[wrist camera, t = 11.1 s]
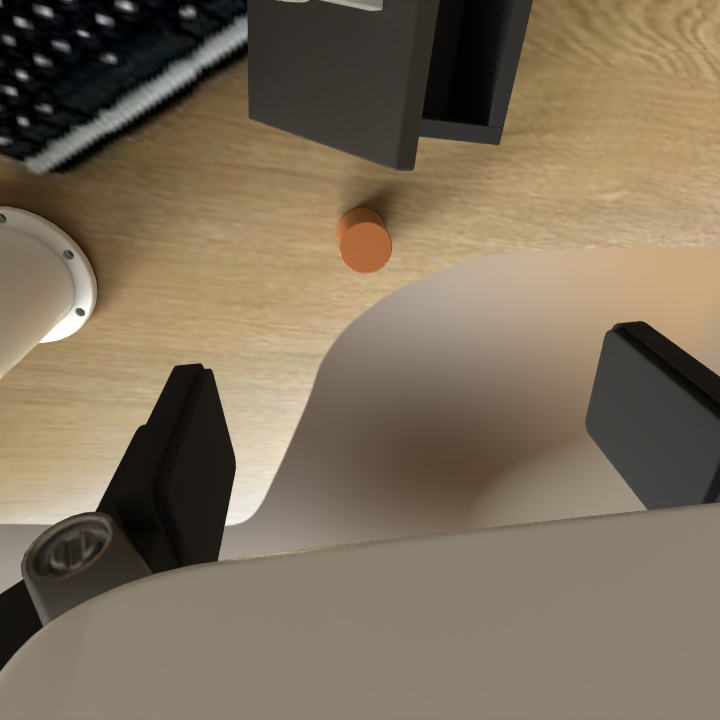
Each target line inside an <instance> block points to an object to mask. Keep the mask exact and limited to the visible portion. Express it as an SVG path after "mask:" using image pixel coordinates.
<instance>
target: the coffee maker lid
mask: <svg viewBox="0 0 720 720" xmlns="http://www.w3.org/2000/svg"><path fill="white" fill-rule="evenodd" d="M439 1H440V0H247V9H248V97H249V119H252V120H254V121H257V122H260V123H263V124H266V125H269V126H271V127H274V128H277V129H280V130H283V131H286V132H288V133H291V134H294V135H297V136H300V137H303V138H305V139H308V140H311V141H314V142H317V143H320V144H322V145H325V146H328V147H331V148H334V149H337V150H339V151H342V152H345V153H348V154H351V155H354V156H356V157H359V158H362V159H365V160H368V161H371V162H373V163H376V164H379V165H382V166H385V167H388V168H390V169H393V170H400V171H412V170H413V169H414V165H415V158H416V152H417V145H418V139H419V132H420V125H421V119H422V112H423V106H424V99H425V93H426V86H427V79H428V73H429V66H430V60H431V53H432V47H433V40H434V33H435V27H436V20H437V14H438V7H439Z"/></svg>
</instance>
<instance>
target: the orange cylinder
mask: <svg viewBox="0 0 720 720" xmlns="http://www.w3.org/2000/svg"><path fill="white" fill-rule="evenodd" d="M337 237H338V243H339V250H340V255H341V258H342V260H343V262H344V263H345V264H346V265H347V266H348V267H349V268H350V269H352V270H353V271H356V272H359V273H371V272H374V271H377V270H379V269H380V268H382V267H383V266H384V265H385V264H386V263H387V261H388V260H389V258H390V255H391V251H392V242H391V238H390V236H389V234H388V232H387V230H386V228H385V225H384V223H383V221H382V219H381V218H380V216H379V215H378V214H377V213H375V212H374V211H372V210H370V209H367V208H356V209H353V210H350V211H349V212H347V213H346V214H345V215H344V216H343V217H342V218H341V220H340V222H339V224H338V228H337Z"/></svg>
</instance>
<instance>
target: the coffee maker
mask: <svg viewBox="0 0 720 720" xmlns="http://www.w3.org/2000/svg"><path fill="white" fill-rule="evenodd" d="M532 2H533V0H440V1H439V7H438V14H437V20H436V27H435V33H434V40H433V47H432V53H431V60H430V66H429V73H428V79H427V86H426V93H425V99H424V106H423V112H422V119H421V125H420V132H419V137H427V138H436V139H446V140H455V141H464V142H473V143H482V144H491V145H499V144H500V140H501V136H502V131H503V127H504V122H505V118H506V114H507V110H508V105H509V101H510V97H511V92H512V88H513V84H514V79H515V75H516V71H517V66H518V62H519V58H520V53H521V49H522V45H523V40H524V36H525V32H526V27H527V23H528V19H529V14H530V10H531V6H532Z"/></svg>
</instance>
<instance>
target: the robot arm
mask: <svg viewBox="0 0 720 720" xmlns="http://www.w3.org/2000/svg"><path fill="white" fill-rule="evenodd" d="M4 216H5V217H6V218H5V217H4ZM70 251H71V252H72V253H73V254H72V253H71V252H70ZM96 300H97V282H96V278H95V275H94V272H93V269H92V267H91V265H90V263H89V261H88V259H87V257H86V255H85V254H84V253H83V251H82V250H81V248H80V247H79V246H78V244H77V243H76V242H75V241H74V240H73V239H72V238H71V237H70V236H69V235H68V234H67V233H65V232H64V231H63V230H61V229H60V228H59V227H57V226H56V225H55V224H53V223H52V222H50V221H48V220H46V219H44V218H42V217H41V216H39V215H36V214H33V213H31V212H28V211H26V210H22V209H18V208H13V207H8V206H0V379H1V378H2V377H3V376H4V375H5V374H6V373H7V372H8V371H9V370H11V369H12V368H13V367H14V366H15V365H16V364H17V363H18V362H19V361H20V360H21V359H22V358H23V357H24V356H25V355H26V354H27V353H28V352H29V351H30V350H32V349H33V348H34V347H35V346H36V345H37V344H38V343H39V342H49V341H56V340H59V339H62V338H65V337H68V336H69V335H71V334H73V333H74V332H76V331H77V330H79V329H80V328H81V327H82V326H83V325H84V324H85V323H86V321H87V320H88V319H89V317H90V316H91V315H92V312H93V310H94V308H95V305H96ZM83 309H84V310H83ZM585 423H586V429H587V432H588V434H589V435H590V437H592V439H593V440H594V442H595V443H596V444H597V445H598V447H599V448H600V449H601V451H602V452H603V453H604V455H605V456H606V457H607V458H608V459H609V461H610V462H611V463H612V465H613V466H614V467H615V469H616V470H617V471H618V472H619V474H620V475H621V476H622V477H623V479H624V480H625V481H626V483H627V484H628V485H629V486H630V488H631V489H632V491H633V492H634V493H635V494H636V496H637V497H638V498H639V500H640V501H641V502H642V503H643V505H644V506H645V507H646V508H647V509H648V510H644V511H636V512H626V513H617V514H607V515H598V516H589V517H579V518H570V519H562V520H553V521H543V522H535V523H526V524H517V525H508V526H499V527H490V528H482V529H472V530H463V531H455V532H446V533H437V534H428V535H421V536H412V537H404V538H395V539H386V540H378V541H369V542H361V543H352V544H344V545H336V546H327V547H319V548H311V549H302V550H294V551H286V552H279V553H270V554H262V555H255V556H248V557H242V558H235V559H229V560H222V561H218V556H219V551H220V546H221V541H222V536H223V531H224V526H225V521H226V516H227V511H228V506H229V501H230V496H231V491H232V486H233V481H234V476H235V471H236V461H235V455H234V451H233V447H232V443H231V439H230V436H229V432H228V428H227V424H226V420H225V417H224V413H223V409H222V405H221V401H220V398H219V394H218V390H217V386H216V382H215V378H214V375H213V372H212V370H211V369H204V367H203V365H202V364H201V363H199V364H188V365H178V366H175V367H174V368H173V370H172V372H171V374H170V376H169V378H168V380H167V382H166V384H165V387H164V389H163V391H162V393H161V395H160V397H159V399H158V401H157V403H156V405H155V407H154V409H153V411H152V413H151V415H150V417H149V419H148V421H147V423H146V425H142V426H140V427H139V428H138V429H137V431H136V432H135V434H134V436H133V438H132V440H131V442H130V444H129V446H128V448H127V450H126V452H125V454H124V456H123V458H122V460H121V462H120V464H119V466H118V468H117V470H116V472H115V474H114V476H113V478H112V480H111V482H110V484H109V486H108V488H107V490H106V492H105V494H104V496H103V498H102V500H101V502H100V504H99V506H98V508H97V510H96V512H85V513H82V514H78V515H74V516H71V517H69V518H67V519H64V520H62V521H60V522H58V523H56V524H55V525H53V526H52V527H50V528H49V529H47V530H46V531H44V532H43V533H42V534H41V535H40V536H39V537H38V538H37V539H36V540H35V541H34V542H33V543H32V544H31V546H30V547H29V549H28V550H27V551H26V553H25V554H24V557H23V561H22V563H21V572H22V577H23V580H21V581H20V582H18V583H17V584H15V585H14V586H12V587H11V588H9V589H7V590H6V591H4V592H3V593H1V594H0V720H720V377H719V376H718V375H717V374H715V373H714V372H713V371H711V370H710V369H709V368H707V367H706V366H704V365H703V364H702V363H700V362H699V361H698V360H696V359H695V358H693V357H692V356H691V355H689V354H688V353H687V352H685V351H684V350H682V349H681V348H680V347H678V346H677V345H676V344H674V343H673V342H671V341H670V340H669V339H667V338H666V337H665V336H663V335H662V334H660V333H659V332H658V331H656V330H655V329H654V328H652V327H651V326H650V325H648V324H647V323H645V322H643V321H638V322H628V323H618V324H616V325H614V326H613V328H612V330H609V331H607V333H606V334H605V337H604V342H603V346H602V350H601V355H600V359H599V363H598V368H597V372H596V376H595V381H594V385H593V389H592V394H591V398H590V402H589V407H588V411H587V415H586V421H585Z"/></svg>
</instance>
